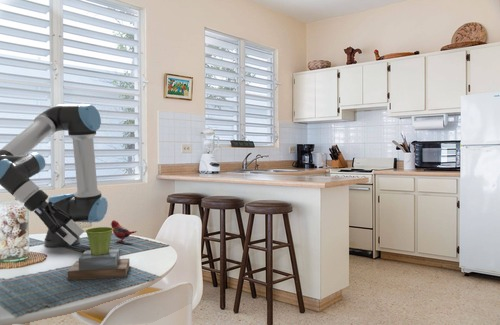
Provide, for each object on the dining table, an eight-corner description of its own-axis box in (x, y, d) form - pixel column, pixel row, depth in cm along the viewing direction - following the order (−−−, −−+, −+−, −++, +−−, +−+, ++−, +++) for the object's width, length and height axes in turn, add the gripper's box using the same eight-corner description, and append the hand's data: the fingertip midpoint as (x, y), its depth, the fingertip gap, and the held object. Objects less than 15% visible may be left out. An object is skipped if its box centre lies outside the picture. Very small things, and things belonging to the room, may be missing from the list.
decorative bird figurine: (113, 239, 200) (112, 219, 199) (139, 244, 191) (139, 222, 190) (108, 240, 197) (108, 220, 197) (134, 245, 188) (134, 223, 188)
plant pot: (105, 257, 141) (104, 232, 141) (80, 256, 143) (80, 231, 143) (118, 250, 150) (118, 227, 150) (95, 249, 152) (94, 226, 152)
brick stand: (76, 268, 151) (76, 250, 151) (129, 266, 155) (129, 248, 155) (67, 280, 139) (67, 259, 138) (125, 276, 142) (125, 257, 142)
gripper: (34, 199, 153) (77, 237, 157) (9, 209, 129) (61, 254, 132) (49, 185, 154) (92, 223, 157) (27, 192, 129) (78, 237, 133)
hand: (78, 238), depth 145 cm, fingers open, 13 cm apart
